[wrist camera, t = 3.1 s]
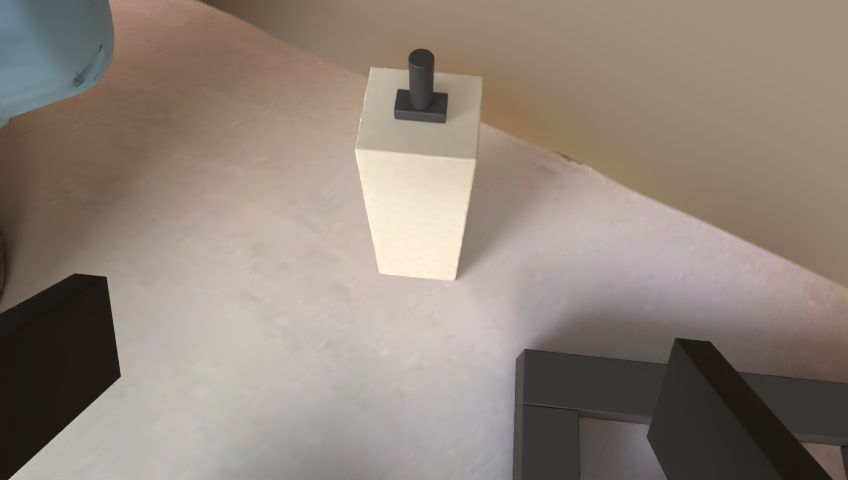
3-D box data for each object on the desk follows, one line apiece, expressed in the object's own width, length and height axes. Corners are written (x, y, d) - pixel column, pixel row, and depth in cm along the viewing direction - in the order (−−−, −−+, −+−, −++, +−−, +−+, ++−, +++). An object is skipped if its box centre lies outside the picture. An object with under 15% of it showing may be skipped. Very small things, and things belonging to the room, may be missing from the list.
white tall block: (455, 281, 27) (486, 112, 15) (378, 273, 27) (343, 99, 15) (460, 219, 29) (492, 19, 16) (388, 212, 29) (363, 8, 16)
